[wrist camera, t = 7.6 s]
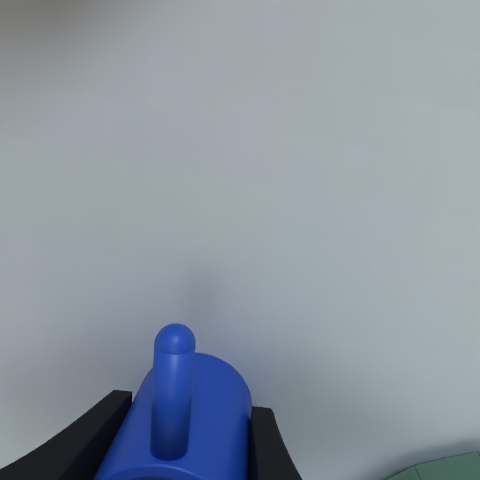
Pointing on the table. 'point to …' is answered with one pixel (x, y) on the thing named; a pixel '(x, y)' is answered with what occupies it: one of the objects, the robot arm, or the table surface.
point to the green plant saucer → (444, 469)
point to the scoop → (183, 418)
